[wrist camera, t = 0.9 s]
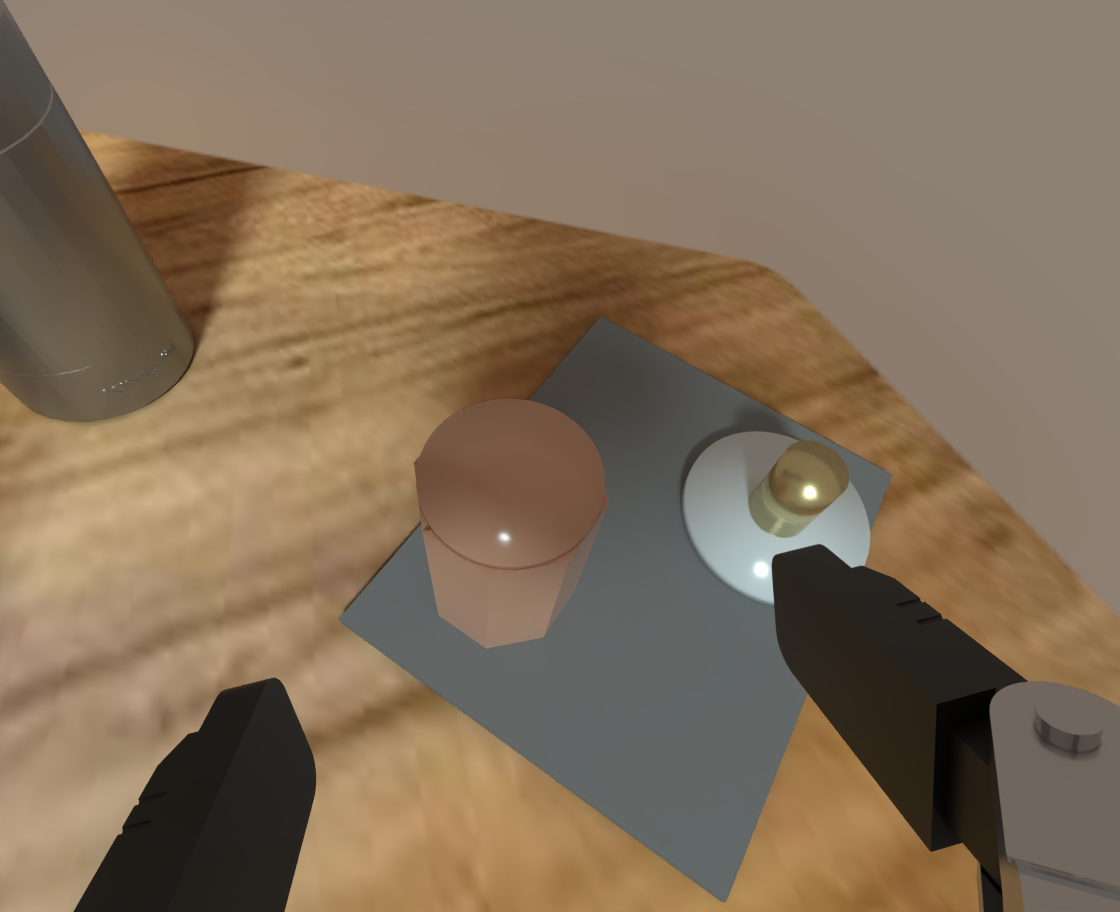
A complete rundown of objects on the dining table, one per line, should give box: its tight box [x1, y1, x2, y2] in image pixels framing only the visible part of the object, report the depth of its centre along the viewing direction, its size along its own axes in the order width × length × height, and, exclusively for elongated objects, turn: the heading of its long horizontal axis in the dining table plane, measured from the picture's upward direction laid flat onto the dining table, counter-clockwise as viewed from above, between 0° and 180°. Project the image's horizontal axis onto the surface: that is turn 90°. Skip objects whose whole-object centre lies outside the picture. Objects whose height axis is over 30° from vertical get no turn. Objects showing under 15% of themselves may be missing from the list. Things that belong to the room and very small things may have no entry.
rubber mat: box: [339, 316, 892, 903], centre depth 33 cm, size 20×24×1 cm
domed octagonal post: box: [414, 398, 609, 648], centre depth 26 cm, size 7×7×10 cm
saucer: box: [681, 431, 870, 607], centre depth 33 cm, size 10×10×1 cm
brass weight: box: [748, 440, 849, 538], centre depth 31 cm, size 3×3×4 cm
